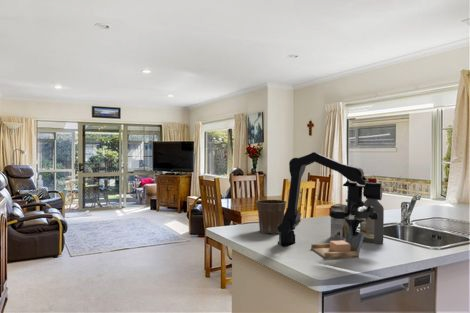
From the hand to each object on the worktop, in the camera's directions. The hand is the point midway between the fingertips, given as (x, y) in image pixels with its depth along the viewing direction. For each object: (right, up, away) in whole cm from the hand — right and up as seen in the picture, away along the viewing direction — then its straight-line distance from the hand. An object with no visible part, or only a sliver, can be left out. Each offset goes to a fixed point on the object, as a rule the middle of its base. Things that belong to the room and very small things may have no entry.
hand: (352, 235), depth 145 cm
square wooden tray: (-9, -8, -1) cm, 12 cm away
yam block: (-6, -6, -1) cm, 8 cm away
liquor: (+15, -8, +20) cm, 27 cm away
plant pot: (-30, -7, +41) cm, 51 cm away
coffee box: (+3, -8, +28) cm, 29 cm away
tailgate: (+1, -3, 0) cm, 3 cm away
